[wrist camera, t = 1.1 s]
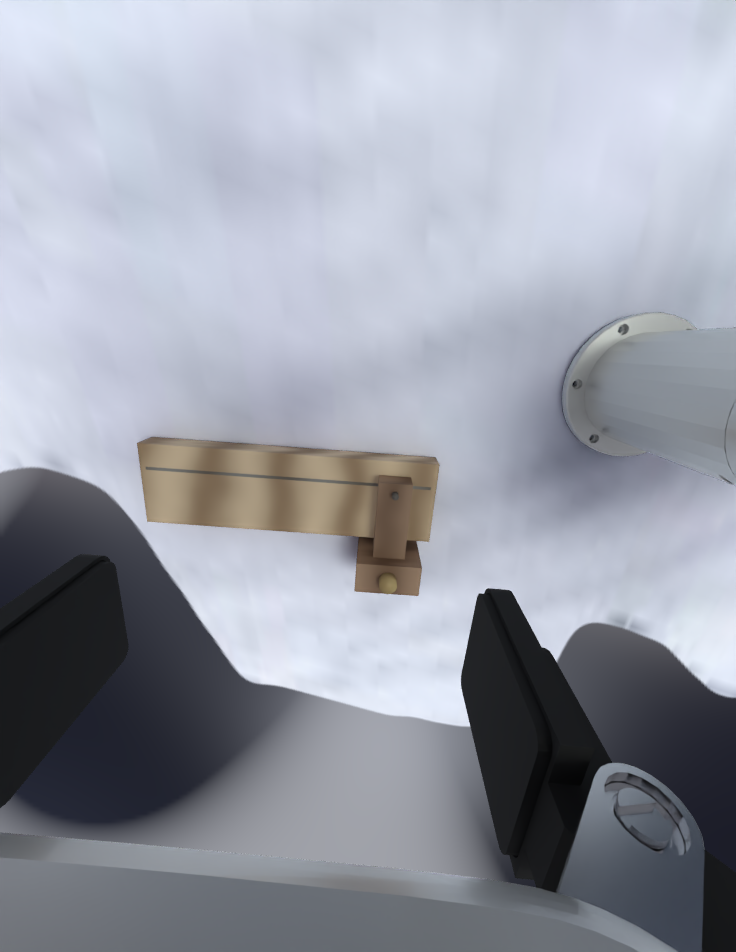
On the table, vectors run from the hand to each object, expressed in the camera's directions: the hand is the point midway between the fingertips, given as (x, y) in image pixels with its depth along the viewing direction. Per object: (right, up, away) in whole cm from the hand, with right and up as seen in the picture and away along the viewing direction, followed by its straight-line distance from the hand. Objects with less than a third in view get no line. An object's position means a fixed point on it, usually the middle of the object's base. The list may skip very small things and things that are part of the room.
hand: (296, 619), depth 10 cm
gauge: (+4, -1, +30) cm, 30 cm away
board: (-6, +3, +29) cm, 30 cm away
